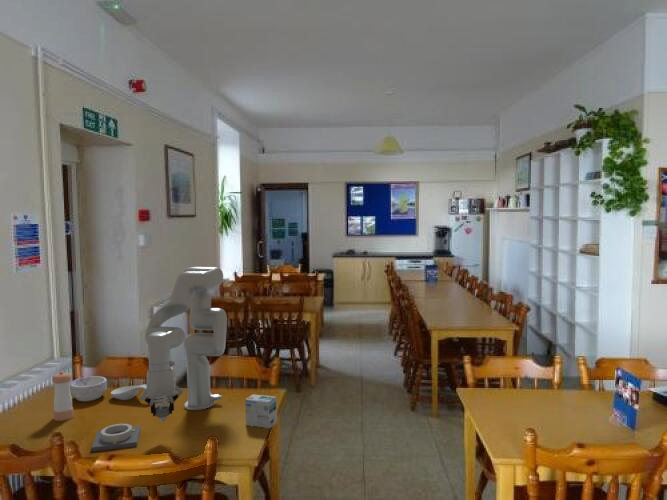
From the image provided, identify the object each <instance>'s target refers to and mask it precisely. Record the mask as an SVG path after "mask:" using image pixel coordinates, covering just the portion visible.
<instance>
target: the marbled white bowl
mask: <svg viewBox="0 0 667 500" xmlns="http://www.w3.org/2000/svg"><path fill="white" fill-rule="evenodd" d="M107 389H108V381H107V378H106V377H104V376H98V375H97V376H95V375H93V376H85V377H79V378H77V379H74V380H72V381H71V382H70V393H71V397H74V398H75V399H76V400H77V401H79V402H92V401H95V400H97V399H100V398H101V397H102V396H103V393H105V392H106V391H107Z"/></svg>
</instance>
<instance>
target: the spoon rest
mask: <svg viewBox="0 0 667 500" xmlns="http://www.w3.org/2000/svg"><path fill="white" fill-rule="evenodd" d="M146 388H147V383H146V384H145V383H144V384H140V385H128V386H122V387H118V388H116V389H114V390H112V391H111V392H110V395H111V396H112V397H113V398H114V399H117V400H120V401H127V400H131V399H132V398H135V396H136V395H137V394H138V393H139V391H140V390H143V391H144V390H145V389H146ZM150 399H151V398H150ZM154 403H155V401H154Z"/></svg>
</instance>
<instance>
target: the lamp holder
mask: <svg viewBox="0 0 667 500" xmlns="http://www.w3.org/2000/svg"><path fill="white" fill-rule="evenodd" d="M140 433H141V425H134V426H132V425H131V424H129V423H116V424H115V423H114V424H112V425H108V426H106V427H105V428H104V427H103V429H101V430H99V429H98V430H97V433H96V435H95V437H94V439H93V442H92V445H91V447H90V449H91V453H92V452H93V453H94V452H100V451H109V450H116V449H123V448H124V449H125V448H131V447H132V448H133V447H137V446H138V444H139V438H140Z"/></svg>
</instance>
